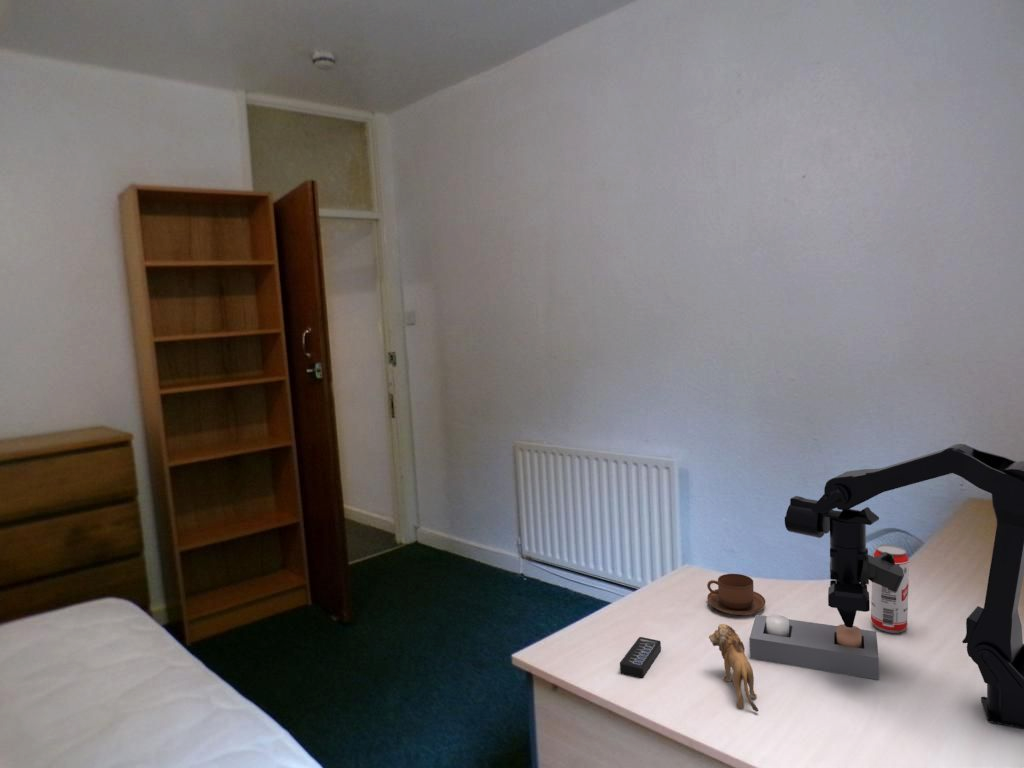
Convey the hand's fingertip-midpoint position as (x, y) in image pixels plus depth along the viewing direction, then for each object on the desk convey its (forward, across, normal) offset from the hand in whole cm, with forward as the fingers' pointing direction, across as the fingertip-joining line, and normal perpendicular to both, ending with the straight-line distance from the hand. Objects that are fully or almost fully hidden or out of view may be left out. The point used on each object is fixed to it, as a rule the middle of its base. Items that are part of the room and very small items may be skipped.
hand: (849, 626), depth 118 cm
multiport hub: (+7, -13, +35) cm, 38 cm away
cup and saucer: (+7, +16, +22) cm, 28 cm away
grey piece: (+4, 0, +12) cm, 13 cm away
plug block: (+7, 0, +6) cm, 9 cm away
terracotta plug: (+4, 0, 0) cm, 4 cm away
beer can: (+7, +16, -7) cm, 19 cm away
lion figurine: (+7, -16, +18) cm, 24 cm away
